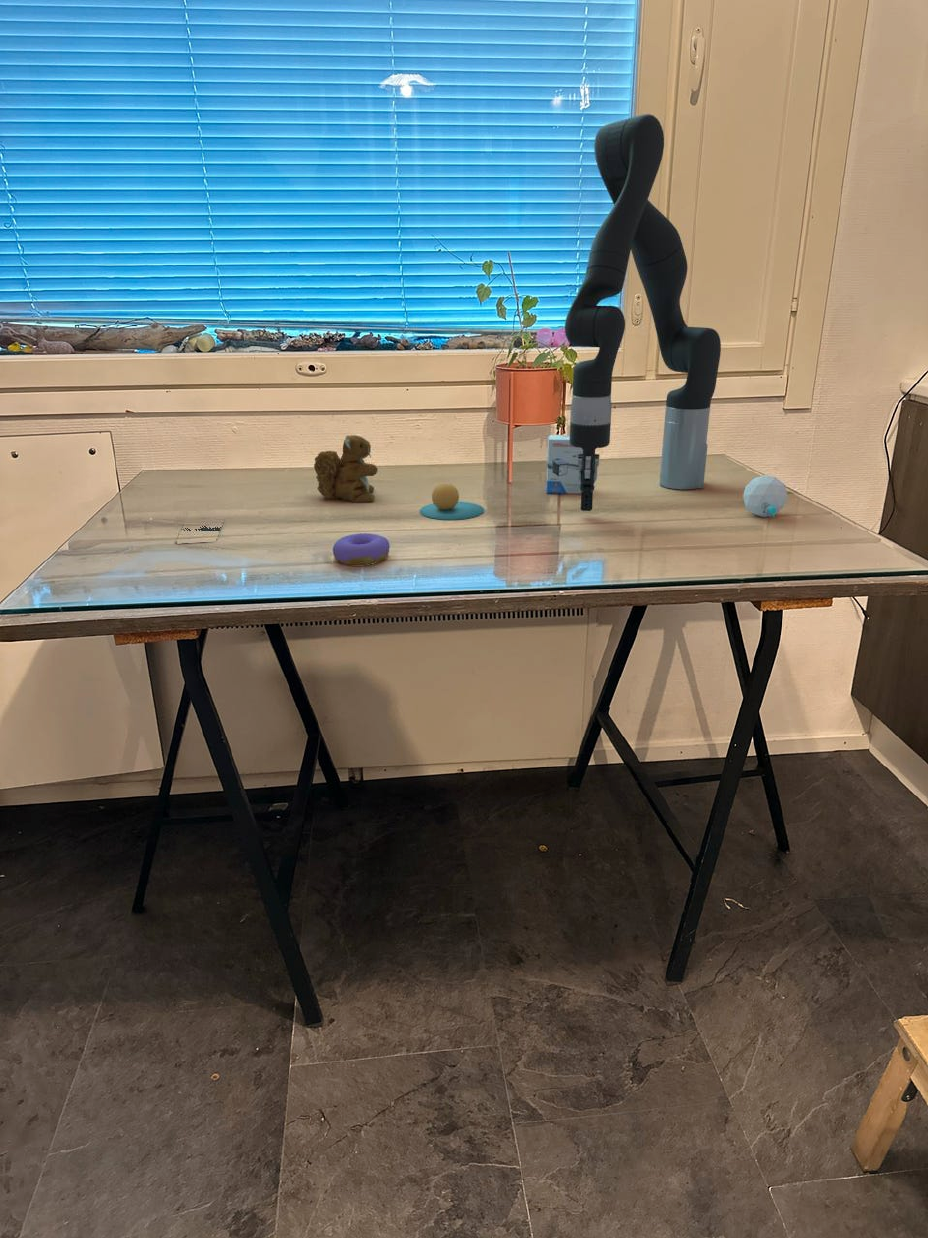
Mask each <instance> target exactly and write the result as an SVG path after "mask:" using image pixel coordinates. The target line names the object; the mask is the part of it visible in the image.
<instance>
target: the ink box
mask: <svg viewBox="0 0 928 1238" xmlns="http://www.w3.org/2000/svg"><path fill="white" fill-rule="evenodd" d="M579 454H583V449H582V448H580V447H579V448H577V447H574V446H572V445H571V444H570V434H550V435H548V436H547V456H546V482H545V483H546V485H545V486H546V487H545V491H546V494H569V495H571V494H573V495H574V494H577V495H579V494H580V495H581V490H580V486H581V481H580V480H579V466H578V456H579Z"/></svg>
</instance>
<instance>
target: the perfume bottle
mask: <svg viewBox="0 0 928 1238" xmlns="http://www.w3.org/2000/svg"><path fill="white" fill-rule="evenodd" d="M786 489H787V488H786V484H785V482H782V481H781V480H780V479H779V478H777V477H776V476H773V475H769V474H764V475H761V476H757V477H754V478H753V479H752V480H751V481H750V482H748V484H747V485H746V486H745V487H744V492H743V501H744V507H745V509H747V510H748V511H750V512H751V513H752V514H754V515H755V516H758V517H761V518H766V517H768V518H772V517H773V518H774V519H775V515H777V514H778V513H779V512H780V511H781V510H782V509H783V508H784V507H785V506H786V502H787V498H788V495H787V490H786Z"/></svg>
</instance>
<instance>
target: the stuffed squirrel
mask: <svg viewBox="0 0 928 1238" xmlns="http://www.w3.org/2000/svg"><path fill="white" fill-rule="evenodd" d="M371 451H372V450H371V442H369V440H367V439H365V438H364V437H362V436H360V435H356V434H353V435H346V436H345V439H344V441H343V445H342V455H341V456H340V457H339V454H338V452H337V451H334V450H326V451H323V450H322V451H321V452H319V453H318V454H317V456H316V457H314V461H315V462H314V465H313V468H314V470H315V473H316V477H315V478H316V479H317V480H316V481H317V482H318V486H317V491H318V492H319V493H320V494H321V496H322V497H324V498H326V500H336V499H335V498H337V499H342V500H343V501H347V502H351V501H352V502H351V503H372V502H374V501H375V498H376V497H375V495H374V493H373V492H374V491H375V487H374V486H373V485H371V484H369V479H368V478H367V477H374V476H375V475H377V473H378V472H379V471H378V467H377V466H376V465H375V464H373V463H367V462H365V460H364V459H366V458H367V457H368V456H369V458H371V457H372V456H371ZM372 491H373V492H372Z"/></svg>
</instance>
